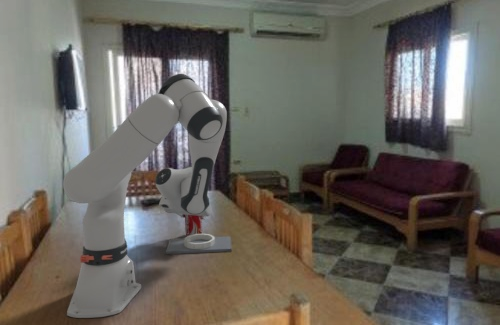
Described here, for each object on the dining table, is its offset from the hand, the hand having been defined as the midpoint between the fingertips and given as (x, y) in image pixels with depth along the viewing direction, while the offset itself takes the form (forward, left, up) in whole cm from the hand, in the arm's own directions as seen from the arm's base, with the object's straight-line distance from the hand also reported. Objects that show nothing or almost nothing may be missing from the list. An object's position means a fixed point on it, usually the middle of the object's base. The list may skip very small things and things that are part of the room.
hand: (193, 217), depth 161 cm
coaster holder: (-13, -3, -8) cm, 15 cm away
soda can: (+1, 0, -8) cm, 8 cm away
